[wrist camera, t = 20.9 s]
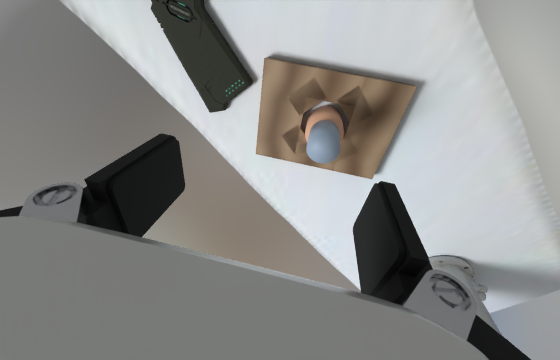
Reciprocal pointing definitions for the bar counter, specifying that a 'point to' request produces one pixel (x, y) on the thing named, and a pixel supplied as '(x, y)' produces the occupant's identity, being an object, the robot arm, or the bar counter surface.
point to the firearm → (202, 51)
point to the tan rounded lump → (324, 114)
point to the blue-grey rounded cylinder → (323, 142)
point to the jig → (337, 89)
